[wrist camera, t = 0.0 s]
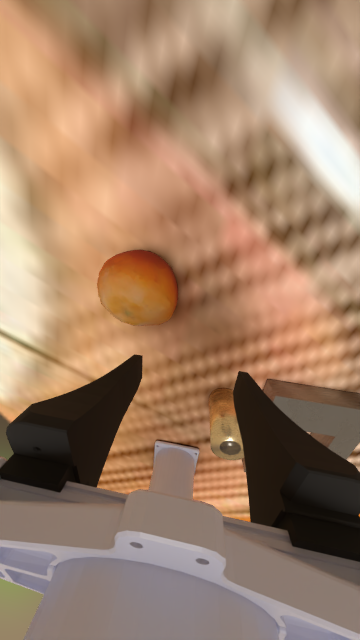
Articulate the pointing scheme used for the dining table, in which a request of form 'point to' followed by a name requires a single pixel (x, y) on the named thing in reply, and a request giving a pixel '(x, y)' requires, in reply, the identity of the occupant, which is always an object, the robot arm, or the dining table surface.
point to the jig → (319, 413)
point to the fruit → (138, 288)
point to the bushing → (224, 425)
